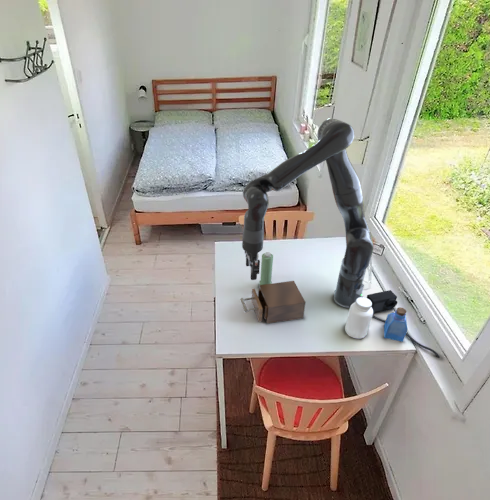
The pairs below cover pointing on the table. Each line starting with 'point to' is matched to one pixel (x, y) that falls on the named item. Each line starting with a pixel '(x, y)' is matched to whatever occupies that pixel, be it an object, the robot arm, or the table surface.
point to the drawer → (256, 304)
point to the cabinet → (283, 301)
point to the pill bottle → (359, 318)
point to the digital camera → (382, 301)
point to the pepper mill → (266, 268)
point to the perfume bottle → (396, 325)
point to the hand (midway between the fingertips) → (251, 272)
